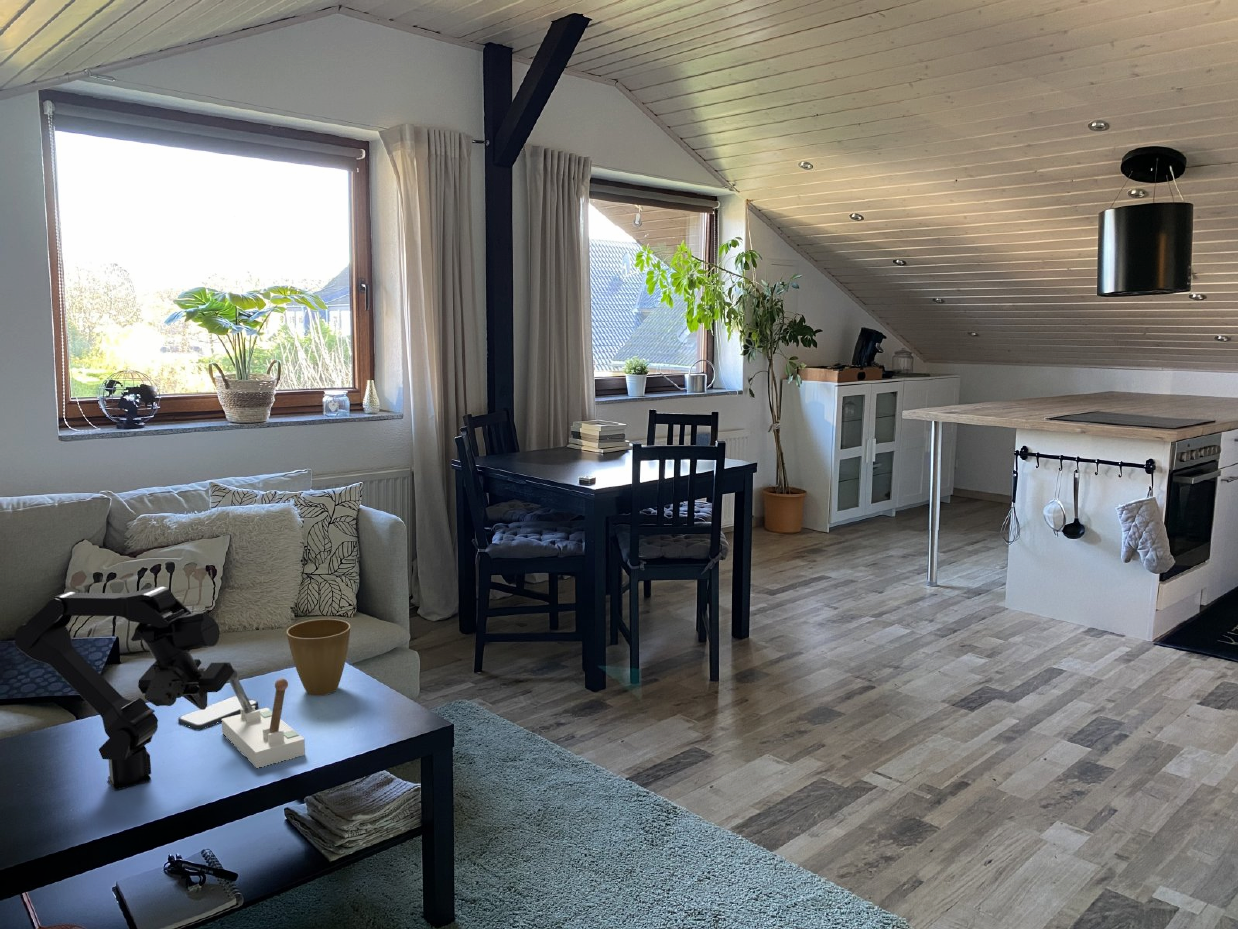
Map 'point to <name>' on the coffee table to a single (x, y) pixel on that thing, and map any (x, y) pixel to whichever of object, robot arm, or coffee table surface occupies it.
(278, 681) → the walnut lever
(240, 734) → the switch panel
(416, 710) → the coffee table surface
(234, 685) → the grey lever
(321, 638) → the plant pot
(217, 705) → the phone case
